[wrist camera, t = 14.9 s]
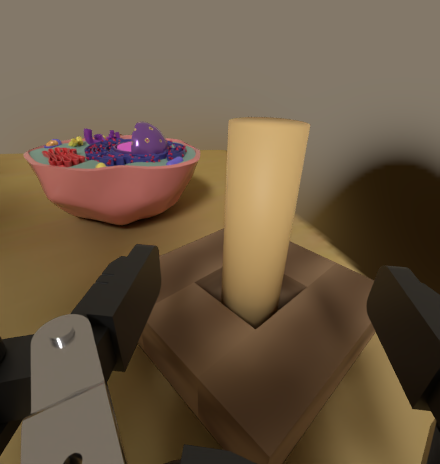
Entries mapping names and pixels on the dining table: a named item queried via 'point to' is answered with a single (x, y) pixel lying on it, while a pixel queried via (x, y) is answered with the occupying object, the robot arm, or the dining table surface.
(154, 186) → the cell model
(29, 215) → the dining table surface
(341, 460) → the dining table surface
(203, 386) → the hole block
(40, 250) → the dining table surface
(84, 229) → the dining table surface
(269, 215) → the peg
